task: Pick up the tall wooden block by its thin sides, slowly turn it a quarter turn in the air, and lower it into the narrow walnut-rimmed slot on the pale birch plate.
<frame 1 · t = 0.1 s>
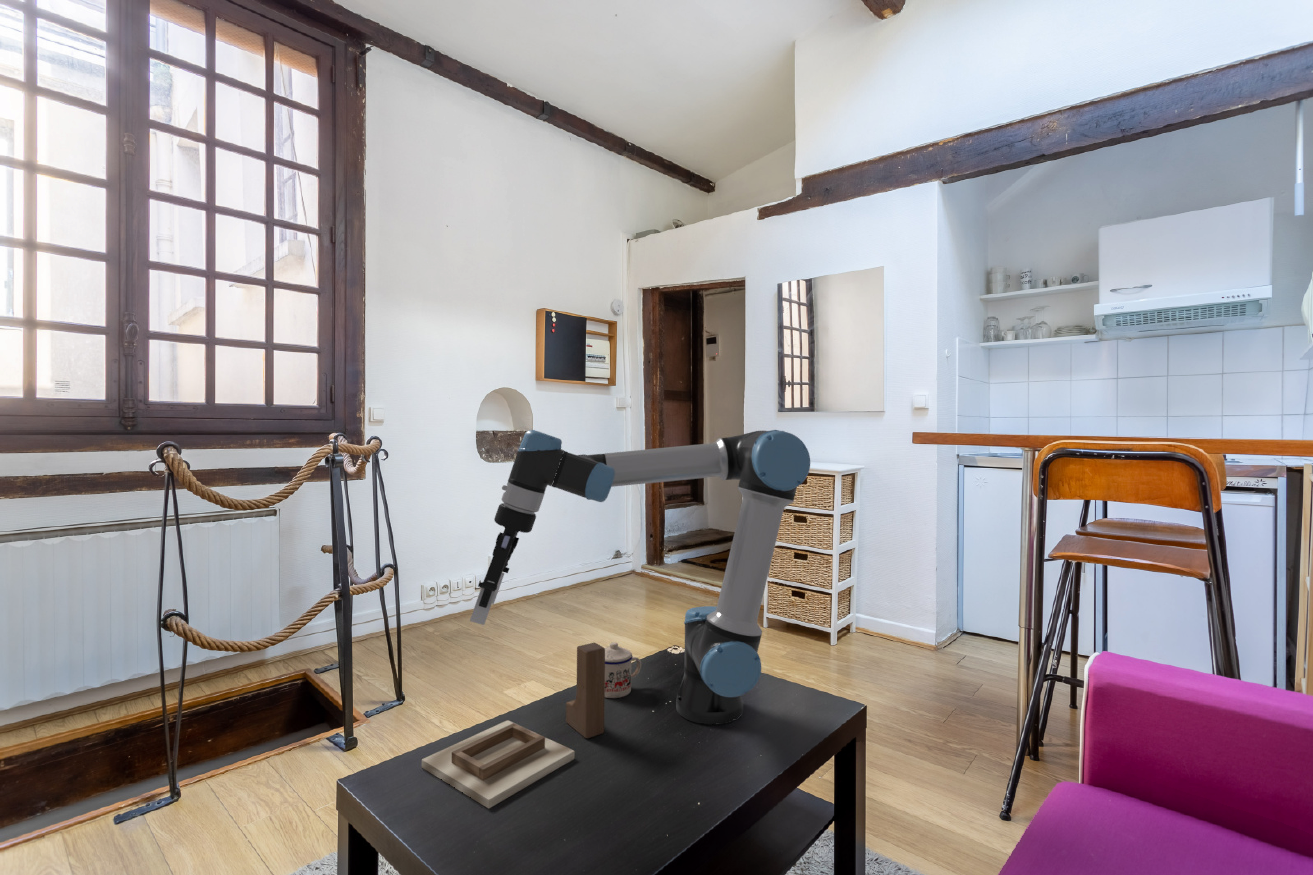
hand: (482, 611, 119), 28 cm above the table, tool tilted 20°, fingers open, 13 cm apart
keyed plate: (499, 763, 116), on the table
wooden block: (584, 729, 130), on the table
teacup with lid: (618, 690, 150), on the table
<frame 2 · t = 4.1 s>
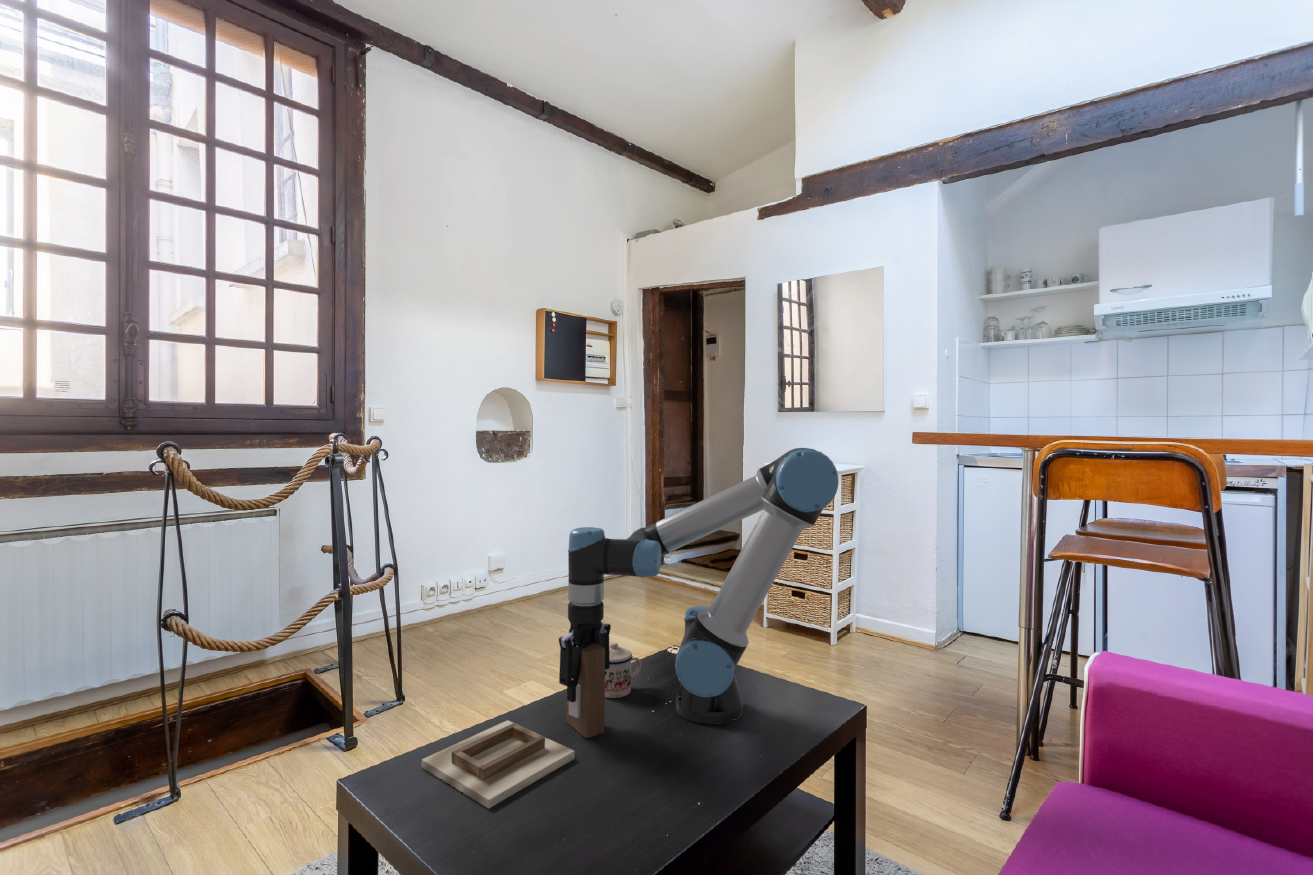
hand: (584, 710, 130), 4 cm above the table, tool pointing down, fingers closed on wooden block, 5 cm apart
wooden block: (584, 729, 130), on the table, touching gripper
everything else where it was.
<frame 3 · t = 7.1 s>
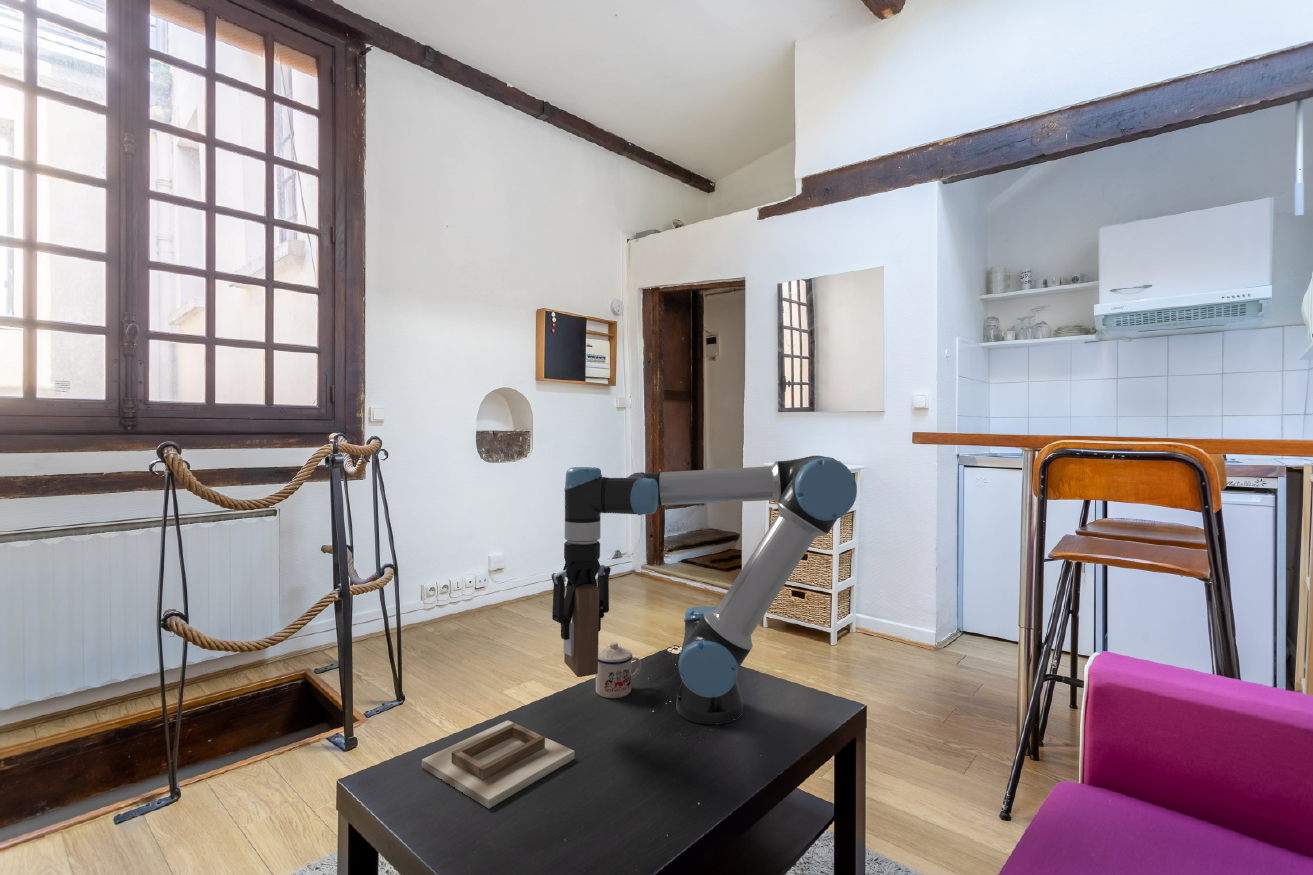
hand: (580, 650, 129), 17 cm above the table, tool pointing down, fingers closed on wooden block, 5 cm apart
wooden block: (580, 669, 129), point 13 cm above the table, touching gripper
everything else where it was.
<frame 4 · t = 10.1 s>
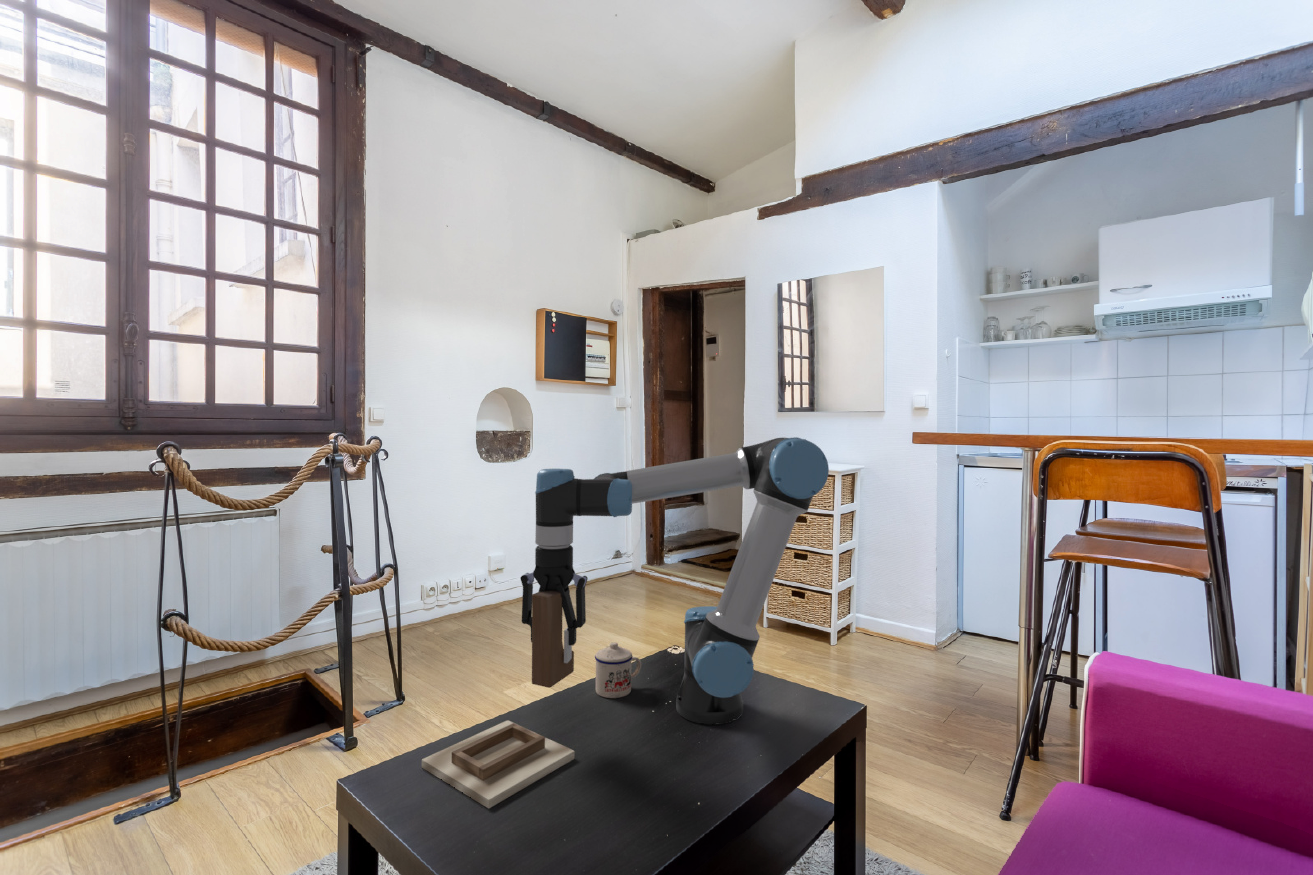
hand: (553, 659, 124), 17 cm above the table, tool pointing down, fingers closed on wooden block, 5 cm apart
wooden block: (553, 679, 124), point 13 cm above the table, touching gripper
everything else where it was.
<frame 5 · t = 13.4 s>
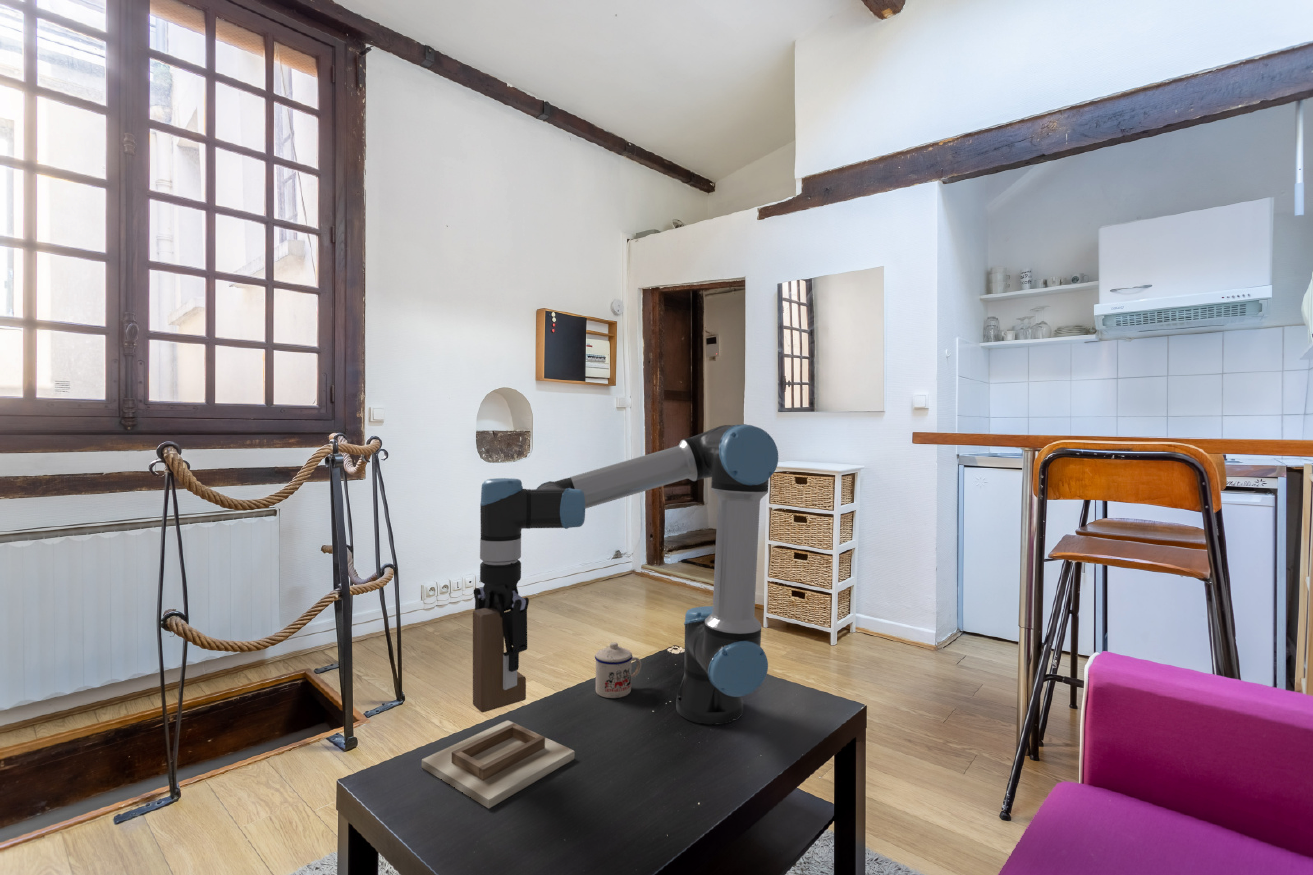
hand: (499, 682, 116), 15 cm above the table, tool pointing down, fingers closed on wooden block, 5 cm apart
wooden block: (499, 703, 116), point 11 cm above the table, touching gripper
everything else where it was.
when the fingers open (6 cm above the table, at t = 16.3 s): wooden block stays where it is, resting on keyed plate.
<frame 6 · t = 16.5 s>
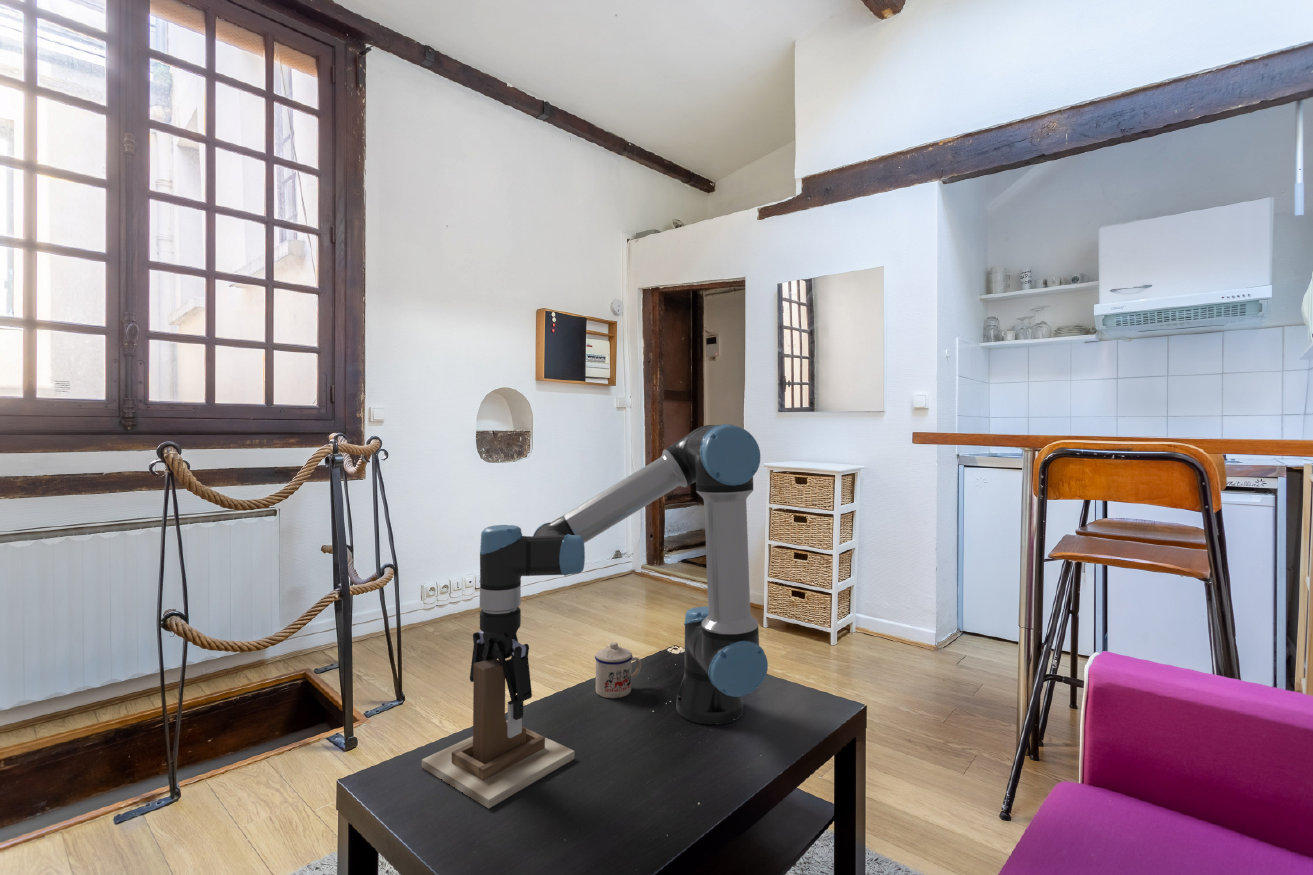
hand: (499, 727, 116), 7 cm above the table, tool pointing down, fingers open, 8 cm apart
wooden block: (499, 755, 116), point 1 cm above the table, touching keyed plate
everything else where it was.
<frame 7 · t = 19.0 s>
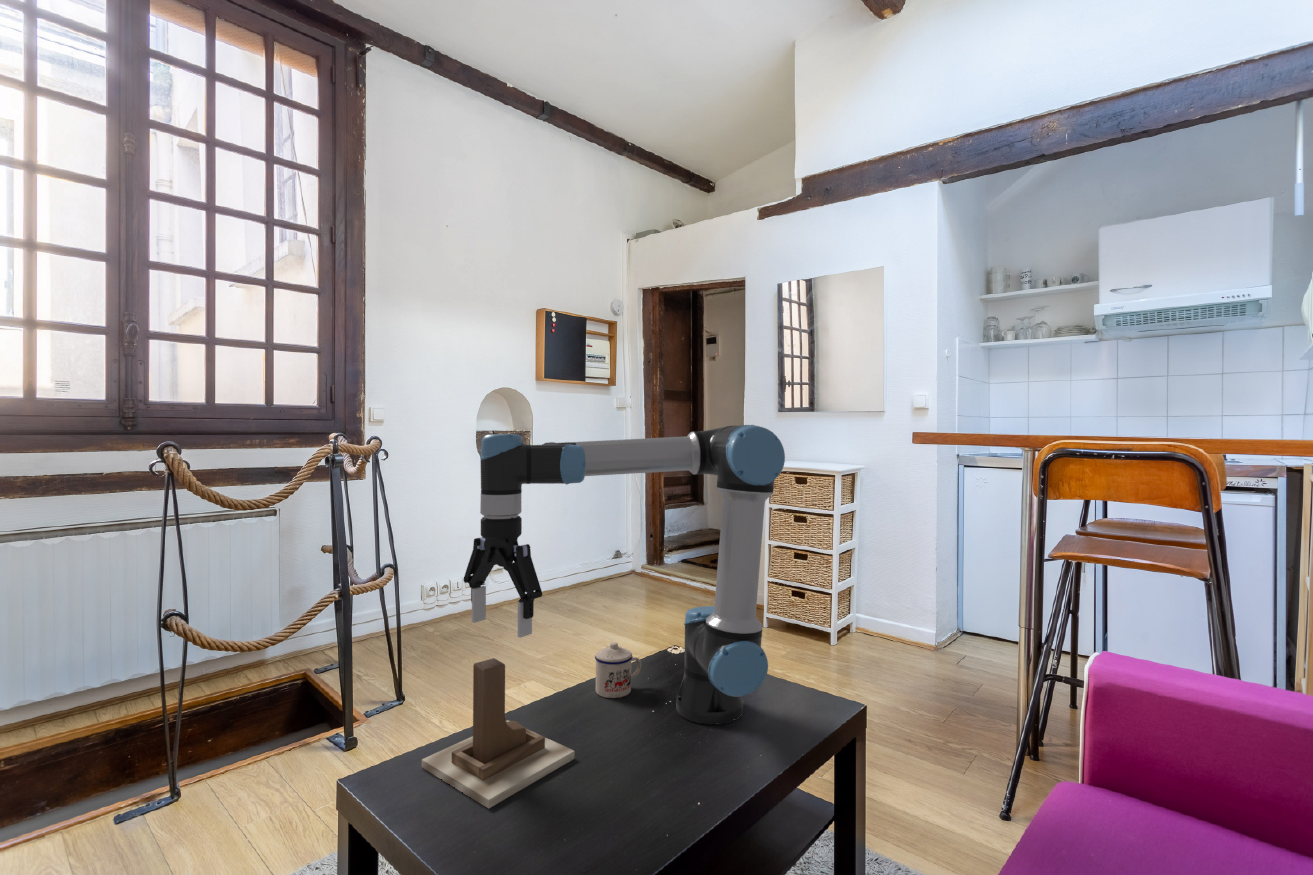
hand: (501, 628, 116), 26 cm above the table, tool pointing down, fingers open, 13 cm apart
nothing on the table moved.
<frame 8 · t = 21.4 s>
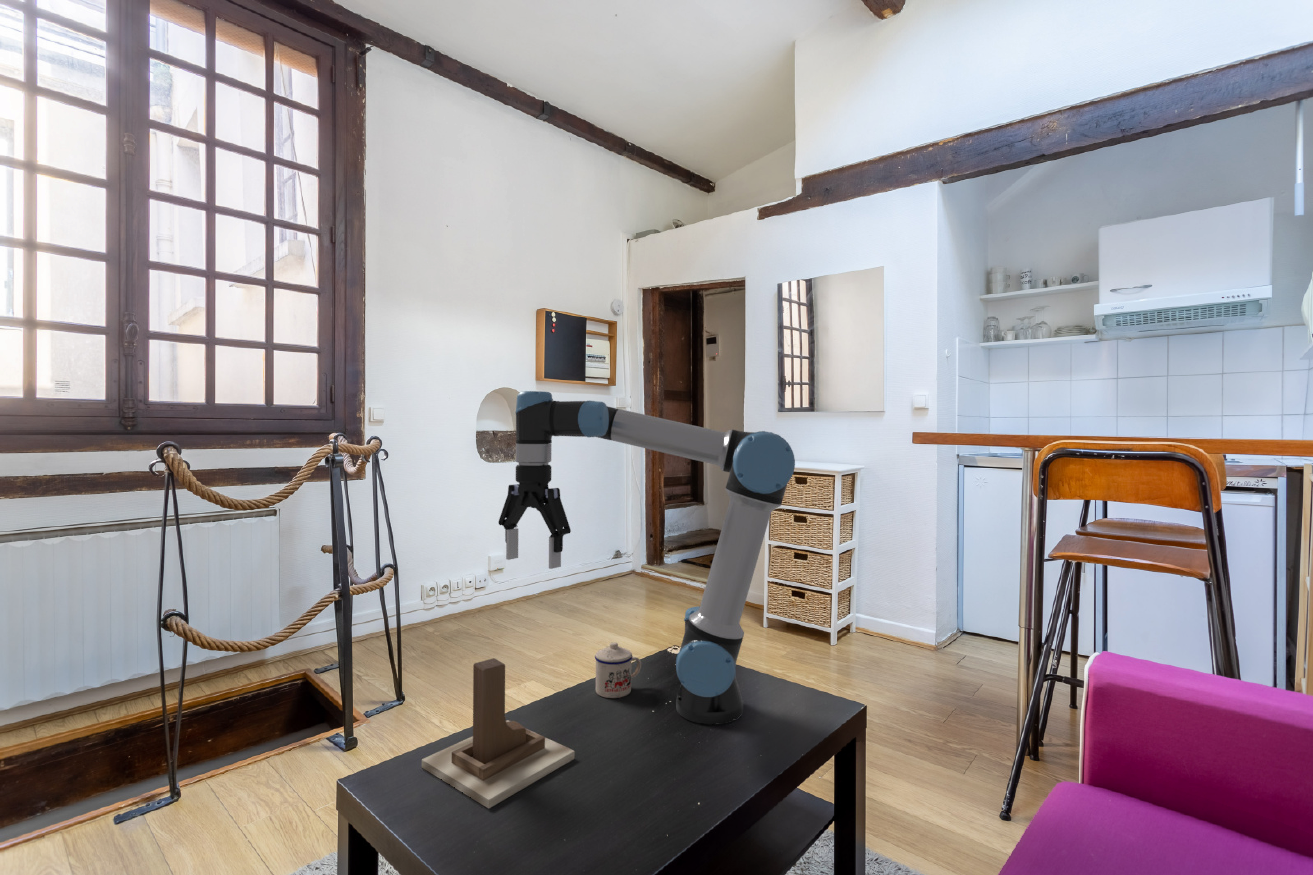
hand: (532, 563, 131), 35 cm above the table, tool pointing down, fingers open, 13 cm apart
nothing on the table moved.
at the end: wooden block 0.1 cm off-centre on the keyed plate, point 1.3 cm above the keyed plate's base; wooden block tilted 0°; the gripper is holding nothing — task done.
